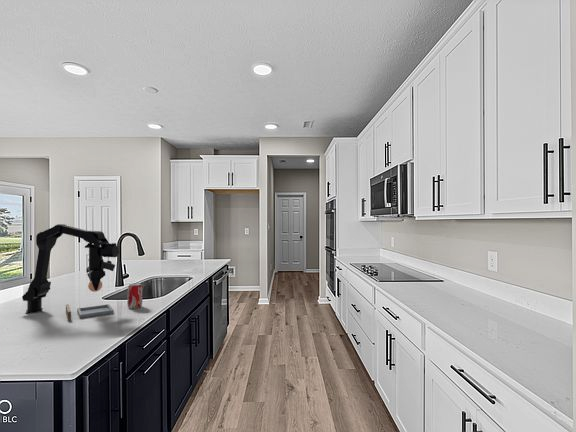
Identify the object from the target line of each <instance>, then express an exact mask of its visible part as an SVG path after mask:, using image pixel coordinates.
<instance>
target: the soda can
mask: <svg viewBox="0 0 576 432" xmlns="http://www.w3.org/2000/svg"><path fill="white" fill-rule="evenodd" d="M142 306H143V286H142V283H139V282H137V283H135V282H134V283H129V284H128V286H127V307H128V308H129V309H131V308H135V309H140V308H141V307H142Z"/></svg>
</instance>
